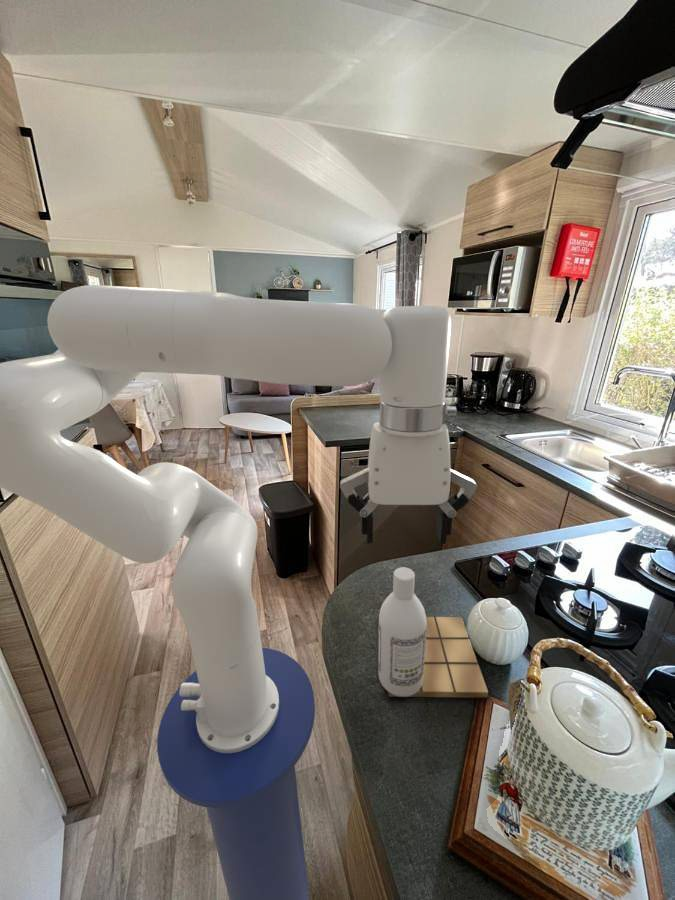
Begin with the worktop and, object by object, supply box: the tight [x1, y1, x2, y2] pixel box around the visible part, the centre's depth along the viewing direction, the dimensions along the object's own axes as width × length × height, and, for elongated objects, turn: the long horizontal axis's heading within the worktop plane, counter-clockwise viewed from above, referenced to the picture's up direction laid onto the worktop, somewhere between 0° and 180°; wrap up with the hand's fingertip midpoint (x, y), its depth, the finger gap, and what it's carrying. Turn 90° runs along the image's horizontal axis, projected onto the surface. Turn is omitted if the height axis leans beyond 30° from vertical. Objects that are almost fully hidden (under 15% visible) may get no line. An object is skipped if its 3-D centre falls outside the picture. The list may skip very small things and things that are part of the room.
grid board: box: [387, 616, 489, 699], centre depth 65 cm, size 15×15×1 cm
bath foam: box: [377, 566, 427, 698], centre depth 56 cm, size 7×7×20 cm
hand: (404, 538), depth 51 cm, fingers open, 9 cm apart
